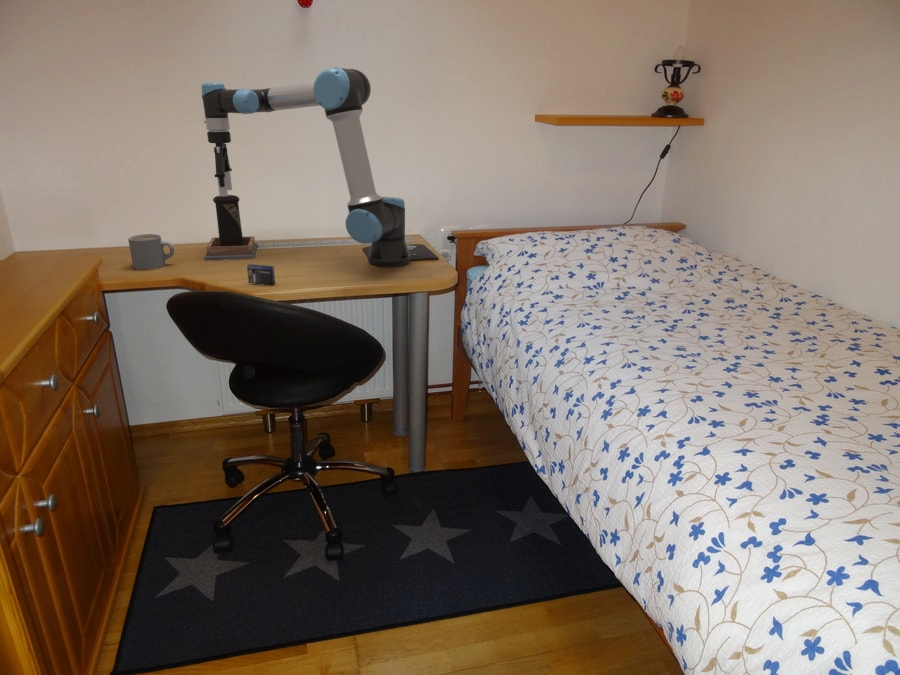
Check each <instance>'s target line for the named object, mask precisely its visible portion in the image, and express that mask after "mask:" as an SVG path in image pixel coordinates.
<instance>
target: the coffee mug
mask: <svg viewBox="0 0 900 675" xmlns="http://www.w3.org/2000/svg"><path fill="white" fill-rule="evenodd" d="M128 246H129V250H130V256H131V261H132V267H133V269H134V268H135V269H134V270H138V269H152V270H155V269H154V268H158V269H160V268H159V267H161V268H163V267H165V266H166V261H167V260H169V259H171V258H173V256H174V254H175V247H174V246H173V244H172V242H170V241H166V240H162V236H161V235H160V234H158V233H157V234H155V233H142V234H135V235H134V234H133V235H132V236H129V237H128ZM164 246H168V248H169V253H166V252H165V250H164ZM164 265H165V266H164ZM162 266H163V267H162Z"/></svg>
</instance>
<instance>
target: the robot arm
mask: <svg viewBox="0 0 900 675" xmlns="http://www.w3.org/2000/svg"><path fill="white" fill-rule="evenodd" d="M371 92H372V91H371V83H370V80H369V78H368V77H367V75H366V74H364V73H363V72H362V71H360V70H359V69H356V68H355V69H354V68H341V67H331V68H330V67H329V68H326V69H323V70H322V71H321V72H319V73H318V75H317V77H316V78H315V80H314V81H313V82H312V81H311V82H305V83H304V82H303V83H299V84H290V85H285V86H284V85H283V86H276V87H268V88H267V87H266V88H261V89H257V88H256V89H253V88H252V89H251V88H250V89H247V88H246V89H245V88H242V89H241V88H240V89H235V88H234V89H228V88H226V87H225V84H224V83H223V82H203V83H202V84H201V98H202V105H203V109H204V111H203V112H204V119H205V120H204V121H203V124H206V130H207V132H206V134H207V142H208V143H210V144H215V146H214V148H213V153H214V160H215V161H214V162H215V174H214V178H216V180H217V186H218V192H219V195H218V196H228V195H229V192H228V191H232V190H233V186H232V179H231V172H232V171H233V169H232V168H231V165H230V160H229V159H230V158H229V155H228V148H227V144H230V143H232V142H231V141H232V138H231V137H232V136H231V132H230V128H231V126H230V121H229V120H230V119H229V114H242V115H250V114H254V113H256V114H257V113H271V112H276V111H285V110H292V109H301V108H310V107H319V106H321V108H323V110H324V113H325V118H326V119H327V120H329V121H330V122H332V126H333V131H334V133H335V138H336V142H337V148H338V152H339V156H340V159H341V163H342V164H341V165H342V168H343V171H344V176H345V181H346V185H347V190H348V193H349V197H350V198H349V201H348V202H347V204H346V205H347V209H348V214H347V216H346V218H345V229H346V232H347V233H348V235H349V237H350V238H352V239H353V240H354V241H356V242H358V243H359V244H365V245H366V244H370V243H371V244H370V247H369V251H368V254H367V263H368V262H369V263H370V264H369V263H368V264H369V265H371V264H372V266H374V265H375V267H379V266H381V267H382V268H396V267H395V266H398V267H403V266H406V264H407V265H408V264H410V263H409V262H411V253H410V252H409V249H408V246H407V242H406V205H405V204H406V203H405V200H404V199H403V198H399V197H389V196H381V195H380V194H378V193H377V191H376V186H375V182H374V177H373V173H372V169H371V164H370V159H369V155H368V152H367V151H368V150H367V146H366V141H365V137H364V133H363V127H362V122H361V120H360V117H361V115H362V112H363V105H365V104H366V103H367V102H368V100H369V99H370V95H371ZM381 267H380V268H381Z"/></svg>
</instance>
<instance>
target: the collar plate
mask: <svg viewBox="0 0 900 675" xmlns="http://www.w3.org/2000/svg"><path fill="white" fill-rule="evenodd" d="M255 241H256V239H255V236H243V244H244V246H220V241H219V236H218V237H211V238H210V240H209V242H208V244H207V245H206V253H205V255H204V257H203V258H204V260H203V261H223V260H224V259H228V260H248V259H249V258H254V259H255V258H256V253H257V250H258V246H259V242H255ZM220 259H221V260H220ZM249 260H250V259H249Z"/></svg>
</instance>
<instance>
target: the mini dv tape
mask: <svg viewBox="0 0 900 675" xmlns="http://www.w3.org/2000/svg"><path fill="white" fill-rule="evenodd" d="M246 268H247V275H248V276H247V279H248V284H249V283H255V284H254V285H260V284H264V285H263V286H275V285H276V277H275V276H276V275H275V266H274V265H267V264H266V265H265V264H263V265H262V264H251V263H250V264H247V266H246Z"/></svg>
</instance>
